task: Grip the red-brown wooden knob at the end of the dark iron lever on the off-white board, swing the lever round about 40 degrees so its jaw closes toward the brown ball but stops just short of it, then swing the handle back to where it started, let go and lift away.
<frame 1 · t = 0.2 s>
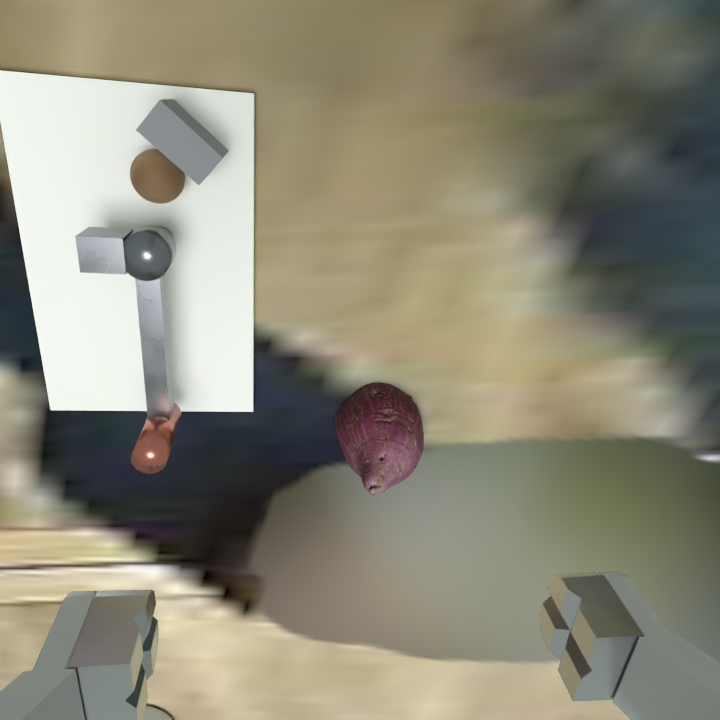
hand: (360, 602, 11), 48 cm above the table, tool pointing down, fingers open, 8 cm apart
vegetable: (377, 420, 66), on the table
brown ball: (162, 173, 50), point 1 cm above the table, touching board
board: (145, 263, 55), on the table
lever: (132, 350, 49), point 9 cm above the table, hinge at 0.0°
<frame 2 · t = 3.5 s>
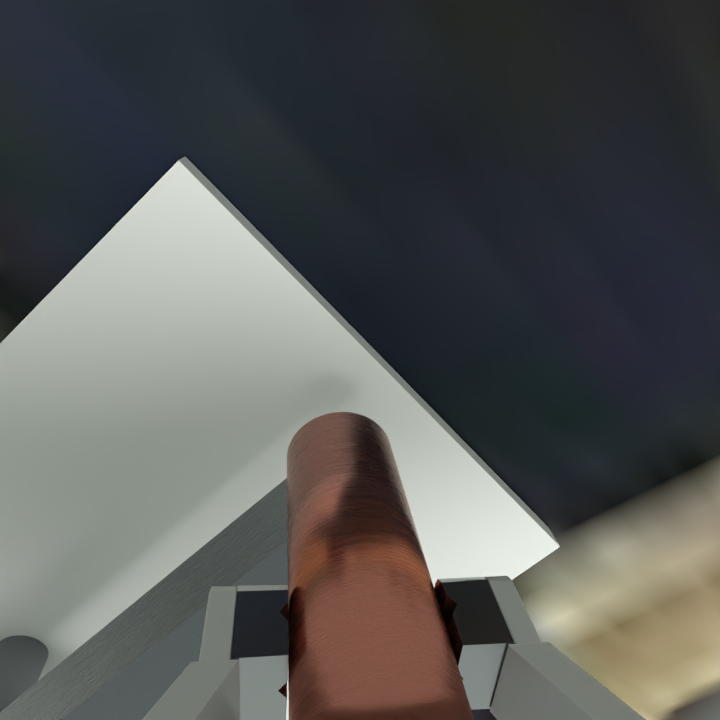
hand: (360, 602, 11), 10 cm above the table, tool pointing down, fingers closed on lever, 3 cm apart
board: (118, 611, 24), on the table
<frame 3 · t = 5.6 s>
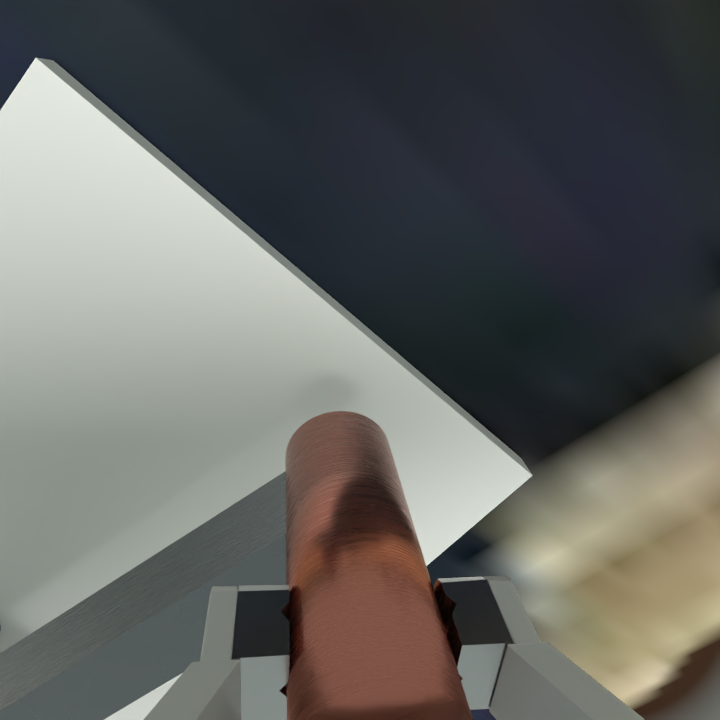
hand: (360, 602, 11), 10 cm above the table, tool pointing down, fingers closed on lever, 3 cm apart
board: (73, 578, 23), on the table
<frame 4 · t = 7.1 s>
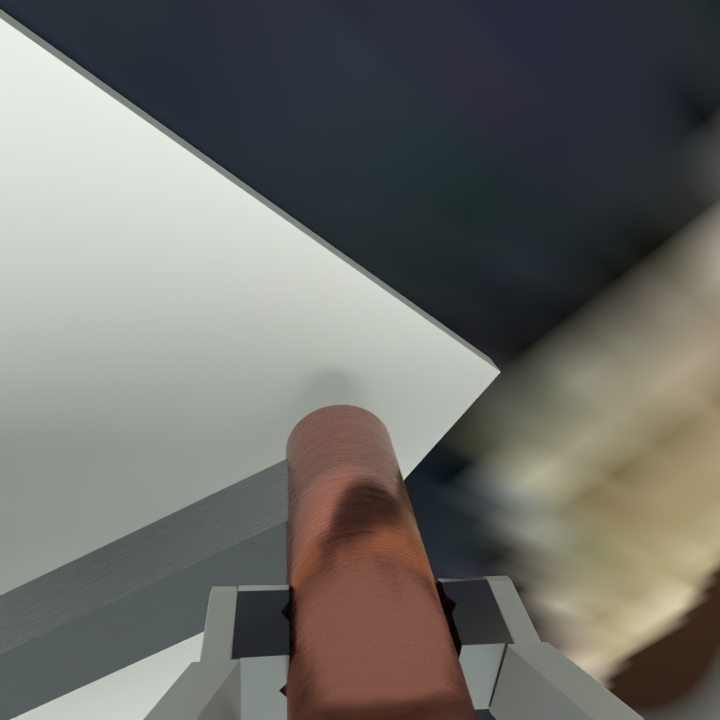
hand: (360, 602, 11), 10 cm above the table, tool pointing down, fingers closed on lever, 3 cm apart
board: (23, 531, 22), on the table
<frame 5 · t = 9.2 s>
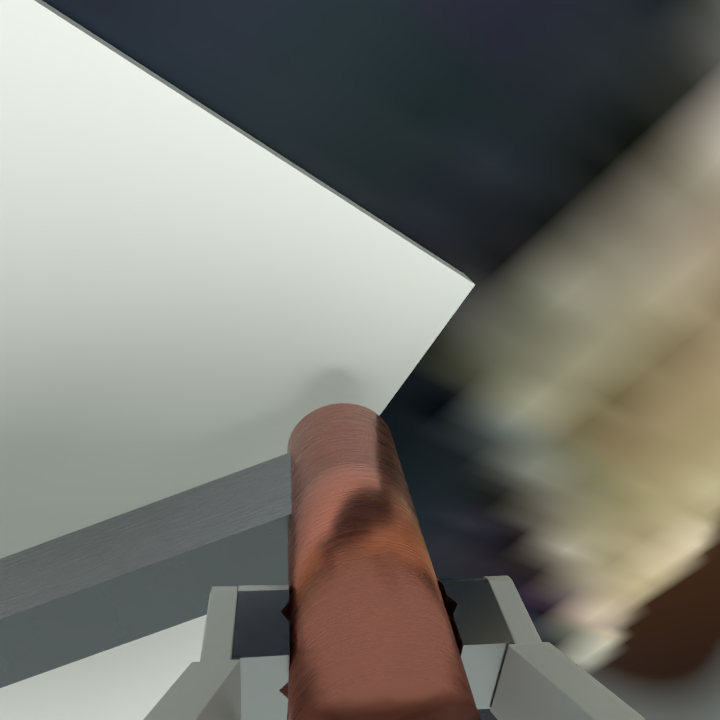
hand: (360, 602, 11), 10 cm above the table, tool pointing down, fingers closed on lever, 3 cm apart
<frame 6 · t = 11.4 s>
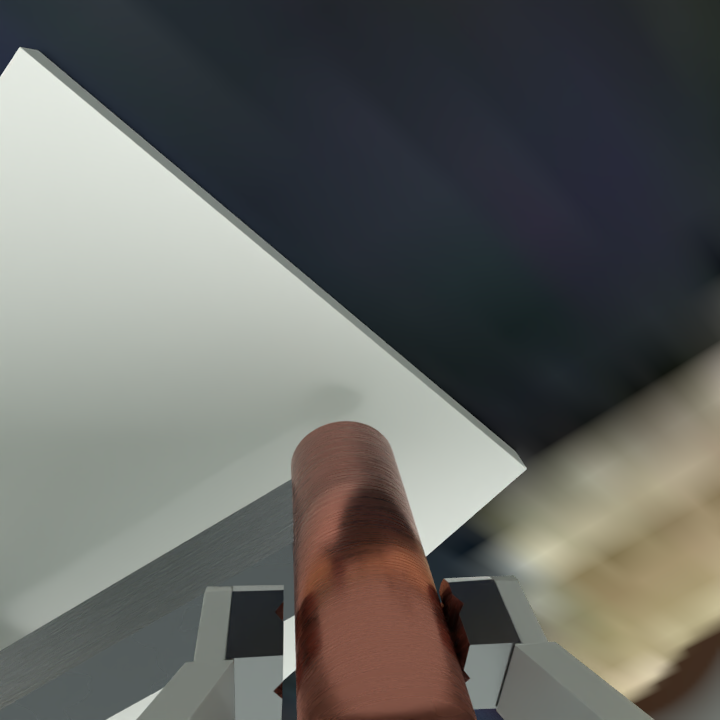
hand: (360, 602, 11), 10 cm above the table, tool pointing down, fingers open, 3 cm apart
board: (65, 575, 23), on the table
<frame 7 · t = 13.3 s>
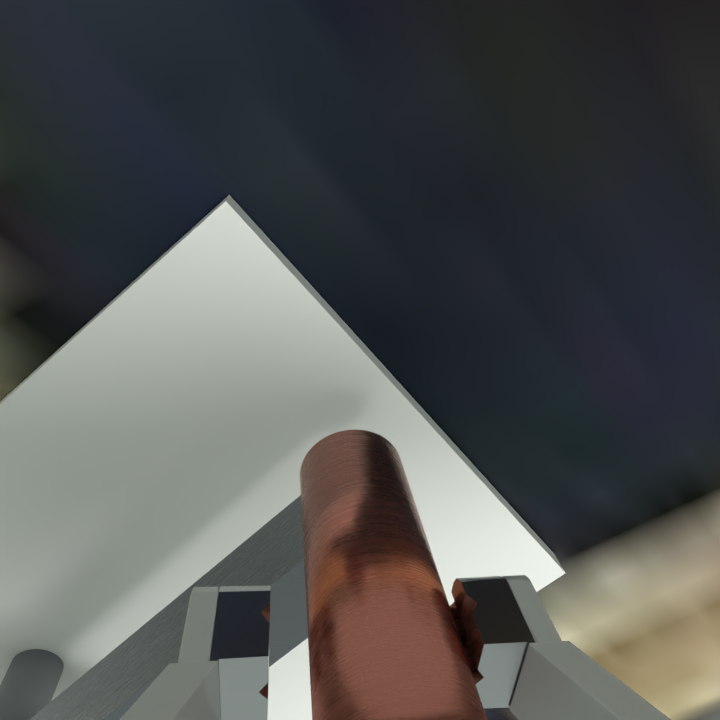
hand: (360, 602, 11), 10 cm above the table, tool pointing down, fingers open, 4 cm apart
board: (133, 626, 24), on the table
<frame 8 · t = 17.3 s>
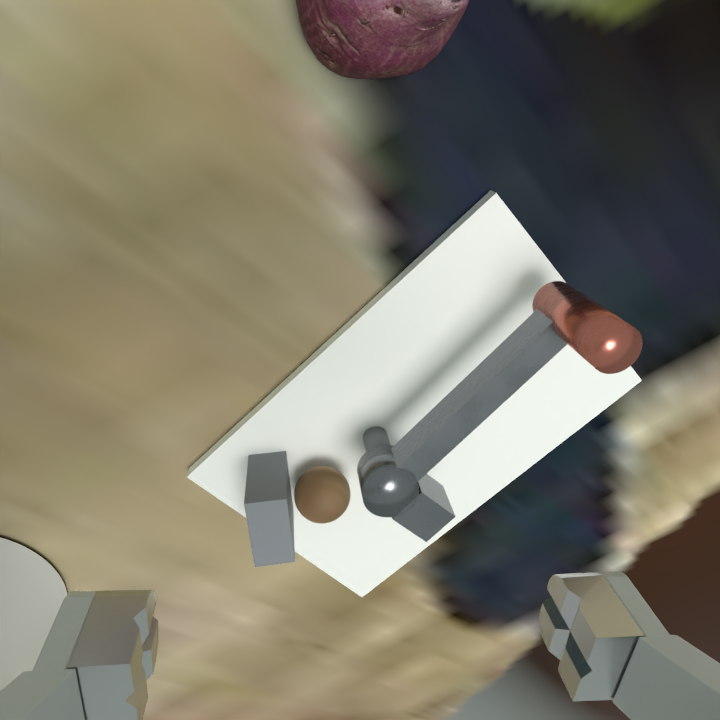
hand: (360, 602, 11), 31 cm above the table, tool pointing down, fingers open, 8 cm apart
brown ball: (320, 477, 47), point 1 cm above the table, touching board
board: (415, 420, 47), on the table
lever: (494, 431, 37), point 9 cm above the table, hinge at -4.1°
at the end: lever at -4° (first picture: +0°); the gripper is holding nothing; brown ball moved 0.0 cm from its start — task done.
